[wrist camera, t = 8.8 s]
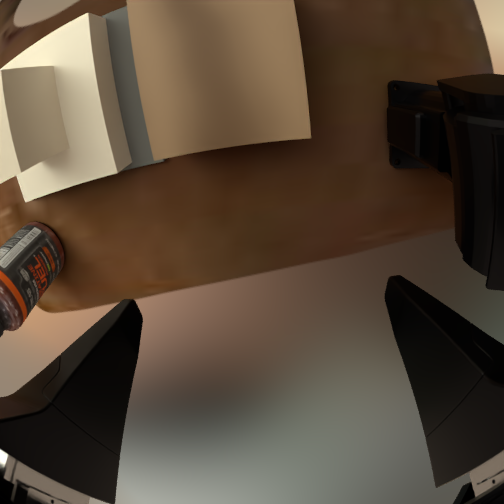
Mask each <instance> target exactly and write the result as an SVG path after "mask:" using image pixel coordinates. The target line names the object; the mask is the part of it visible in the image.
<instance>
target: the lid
mask: <svg viewBox="0 0 504 504" xmlns="http://www.w3.org/2000/svg"><path fill="white" fill-rule="evenodd" d="M131 163H132V159H131V156H130V152H129V147H128V143H127V139H126V135H125V131H124V126H123V122H122V117H121V112H120V107H119V102H118V97H117V92H116V87H115V81H114V75H113V69H112V63H111V56H110V49H109V42H108V34H107V25H106V19H105V18H103V17H100V16H97V15H94V14H91V13H86V14H84V15H82V16H80V17H78V18H77V19H75V20H73V21H71V22H69V23H67V24H66V25H64V26H62V27H60V28H59V29H57V30H55V31H54V32H52V33H50V34H49V35H47V36H46V37H44V38H42V39H41V40H39V41H38V42H36V43H35V44H33V45H32V46H30V47H29V48H28V49H26V50H25V51H23V52H22V53H21V54H19V55H18V56H17V57H15V58H14V59H13V60H11V61H10V62H9V63H8V64H6V65H5V66H4V67H3V68H1V69H0V183H2V182H4V181H6V180H8V179H10V178H12V177H14V176H17V179H18V182H19V185H20V188H21V191H22V194H23V197H24V200H25V202H28V201H31V200H33V199H36V198H39V197H42V196H44V195H47V194H50V193H53V192H56V191H59V190H62V189H65V188H68V187H71V186H74V185H78V184H81V183H84V182H87V181H91V180H94V179H98V178H101V177H105V176H108V175H112V174H116V173H118V172H120V171H121V170H122V169H124V168H125V167H126V166H128V165H129V164H131Z"/></svg>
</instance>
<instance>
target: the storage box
mask: <svg viewBox="0 0 504 504" xmlns="http://www.w3.org/2000/svg"><path fill="white" fill-rule="evenodd" d="M127 10H128V19H129V27H130V35H131V43H132V50H133V56H134V63H135V69H136V75H137V81H138V86H139V92H140V97H141V103H142V108H143V113H144V118H145V122H146V127H147V132H148V136H149V141H150V145H151V150H152V154H153V158H154V161H156V160H161V159H165V158H170V157H175V156H180V155H185V154H190V153H196V152H201V151H207V150H213V149H219V148H226V147H233V146H240V145H247V144H255V143H264V142H273V141H283V140H294V139H307V138H311V130H310V118H309V108H308V98H307V89H306V80H305V72H304V64H303V56H302V49H301V42H300V36H299V29H298V23H297V17H296V11H295V6H294V0H127Z"/></svg>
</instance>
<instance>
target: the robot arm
mask: <svg viewBox="0 0 504 504" xmlns="http://www.w3.org/2000/svg"><path fill="white" fill-rule="evenodd" d="M437 83H438V86H434V85H427V84H421V83H413V82H405V81H396V80H393V81H390V82H389V83H388V97H389V107H388V108H387V130H388V142H389V143H390V158H389V161H390V164H391V165H392V166H393V167H395V168H431V169H432V170H434V171H436V172H437V173H439V174H440V175H442V176H444V177H445V178H447V179H448V180H450V181H451V182H453V195H454V216H455V241H456V243H457V244H458V247H459V249H460V251H461V252H462V254H463V260H464V261H465V262H466V263H467V264H468V265H469V266H470V267H471V268H473V269H474V270H476V271H478V272H479V273H481V274H482V275H485V276H487V280H486V288H487V289H491V290H492V289H493V290H502V291H504V75H500V74H478V75H470V76H462V77H455V78H448V79H442V80H437ZM394 84H396V85H397V89H396V90H395V89H394ZM396 159H398V162H397V163H396V164H395V160H396ZM385 302H386V306H387V309H388V313H389V317H390V321H391V325H392V329H393V332H394V336H395V339H396V342H397V345H398V348H399V351H400V354H401V356H402V359H403V362H404V365H405V368H406V371H407V374H408V377H409V381H410V384H411V387H412V390H413V393H414V397H415V400H416V404H417V407H418V411H419V414H420V418H421V422H422V425H423V430H424V434H425V437H426V442H427V447H428V451H429V456H430V460H431V465H432V470H433V476H434V481H435V486H436V488H438V487H440V486H442V485H444V484H447V483H449V482H451V481H453V480H455V479H457V478H459V477H461V476H463V475H465V474H467V473H470V477H471V482H469V483H467V484H465V485H463V486H462V488H461V490H460V492H459V494H458V496H457V497H456V499H455V501H454V503H453V504H504V345H503V344H502V343H500V342H498V341H497V340H495V339H494V338H492V337H491V336H489V335H488V334H486V333H485V332H483V331H482V330H480V329H479V328H478V327H476V326H475V325H473V324H472V323H471V324H470V322H469V321H468V320H466V319H465V318H463V317H462V316H460V315H459V314H458V313H456V312H455V311H453V310H452V309H451V308H449V307H448V306H446V305H444V304H443V303H441V302H440V301H439V300H437V299H436V298H434V297H433V296H431V295H430V294H428V293H427V292H425V291H424V290H422V289H421V288H419V287H418V286H416V285H415V284H413V283H411V282H410V281H408V280H407V279H405V278H404V277H402V276H400V275H396V276H391V277H389V279H388V282H387V286H386V291H385ZM142 323H143V318H142V314H141V312H140V310H139V308H138V306H137V304H136V302H135V300H133V299H124V300H122V301H121V302H120V303H119V304H118V305H116V306H115V307H114V308H113V309H112V310H110V311H109V312H108V313H107V314H106V315H105V316H104V317H102V318H101V319H100V320H99V321H98V322H96V323H95V324H94V325H93V326H92V327H91V328H90V329H88V330H87V331H86V332H85V333H84V334H83V335H82V336H80V337H79V338H78V339H77V340H76V341H75V342H74V343H73V344H71V345H70V346H69V347H68V348H67V349H66V350H65V351H64V352H62V353H61V355H59V356H58V357H57V358H56V359H55V360H54V361H53V362H51V363H50V364H49V365H48V366H47V367H46V368H45V369H44V370H42V371H41V372H40V373H39V374H37V375H36V376H35V377H34V378H32V379H31V380H30V381H29V382H27V383H26V384H25V385H24V386H23V387H21V388H20V389H19V390H17V391H16V392H15V393H13V394H11V395H9V396H6V397H0V504H88V503H89V498H90V497H92V498H95V499H98V500H101V501H103V502H106V503H109V504H115V496H116V486H117V477H118V468H119V460H120V452H121V445H122V438H123V431H124V425H125V419H126V414H127V408H128V403H129V398H130V392H131V387H132V383H133V378H134V373H135V368H136V364H137V359H138V353H139V346H140V338H141V330H142Z"/></svg>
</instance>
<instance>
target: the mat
mask: <svg viewBox="0 0 504 504" xmlns="http://www.w3.org/2000/svg"><path fill="white" fill-rule="evenodd" d="M101 17H103V18H105V19H106V25H107V34H108V42H109V49H110V56H111V63H112V69H113V75H114V81H115V87H116V92H117V97H118V102H119V107H120V112H121V117H122V122H123V126H124V131H125V135H126V139H127V143H128V147H129V152H130V156H131V159H132V163H131V164H129V165H128V166H126V167H125V168H124V169H122V170H121V171H124V170H128V169H132V168H136V167H141V166H145V165H149V164H154V163H158V162H163V161H165V160H166V158H165V159H161V160H156V161H154V158H153V154H152V150H151V145H150V141H149V136H148V132H147V127H146V122H145V118H144V113H143V108H142V103H141V97H140V92H139V86H138V81H137V75H136V69H135V63H134V56H133V50H132V43H131V35H130V27H129V19H128V10H127V6H125V7H123V8H120V9H118V10H115V11H113V12H111V13H108V14H106V15H104V16H101Z"/></svg>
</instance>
